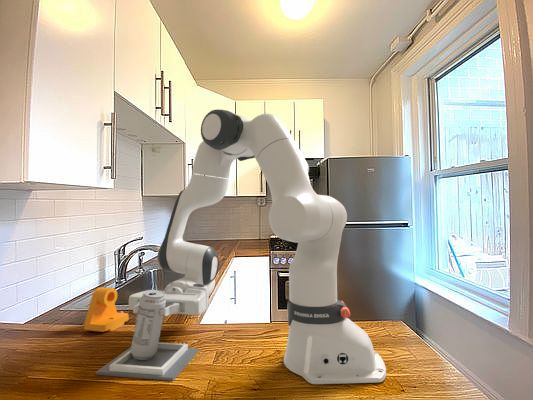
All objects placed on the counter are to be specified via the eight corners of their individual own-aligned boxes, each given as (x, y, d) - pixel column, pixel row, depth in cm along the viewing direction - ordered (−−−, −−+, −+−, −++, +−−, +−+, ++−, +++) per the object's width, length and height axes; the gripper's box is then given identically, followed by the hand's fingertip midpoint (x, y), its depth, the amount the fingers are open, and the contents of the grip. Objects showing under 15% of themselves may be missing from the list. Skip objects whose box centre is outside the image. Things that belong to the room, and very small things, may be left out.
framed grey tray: (199, 350, 77) (199, 343, 77) (173, 380, 63) (173, 372, 63) (134, 346, 80) (134, 339, 80) (96, 374, 66) (96, 366, 66)
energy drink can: (161, 355, 73) (172, 295, 73) (140, 364, 68) (151, 300, 68) (146, 344, 77) (156, 287, 76) (124, 353, 72) (135, 291, 71)
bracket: (103, 334, 88) (104, 293, 89) (84, 332, 90) (84, 291, 91) (129, 322, 98) (130, 284, 99) (111, 320, 100) (112, 283, 101)
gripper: (148, 282, 87) (112, 295, 74) (213, 286, 82) (187, 300, 69) (147, 304, 87) (111, 321, 73) (213, 309, 82) (187, 329, 68)
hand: (149, 311), depth 71 cm, fingers open, 6 cm apart
